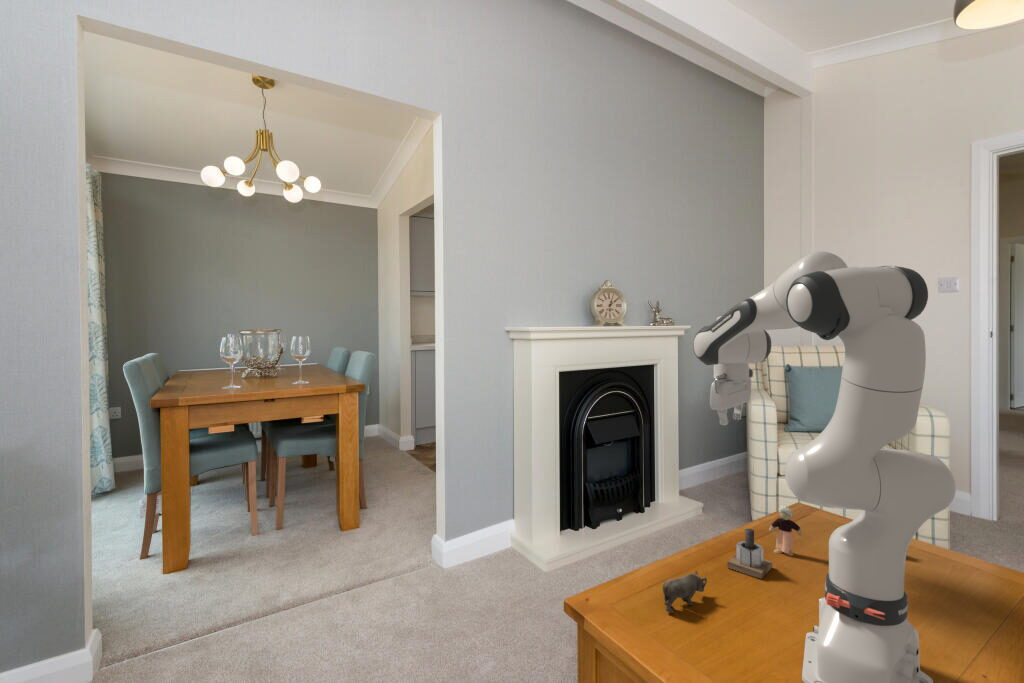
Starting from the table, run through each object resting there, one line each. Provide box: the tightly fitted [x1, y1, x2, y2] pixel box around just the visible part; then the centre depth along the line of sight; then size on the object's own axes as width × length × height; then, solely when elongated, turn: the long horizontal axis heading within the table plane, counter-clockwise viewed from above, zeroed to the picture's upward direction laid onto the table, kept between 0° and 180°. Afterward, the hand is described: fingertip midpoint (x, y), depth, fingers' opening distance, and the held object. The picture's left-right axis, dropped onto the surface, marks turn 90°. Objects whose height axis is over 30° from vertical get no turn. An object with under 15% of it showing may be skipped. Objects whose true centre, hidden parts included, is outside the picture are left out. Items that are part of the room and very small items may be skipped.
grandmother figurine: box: [768, 505, 803, 557], centre depth 129 cm, size 8×4×13 cm, turn 73°
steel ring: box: [735, 540, 764, 567], centre depth 122 cm, size 6×6×4 cm
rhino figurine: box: [662, 570, 708, 613], centre depth 107 cm, size 4×14×6 cm, turn 118°
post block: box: [726, 528, 773, 580], centre depth 122 cm, size 8×8×10 cm
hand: (730, 422), depth 134 cm, fingers open, 8 cm apart
